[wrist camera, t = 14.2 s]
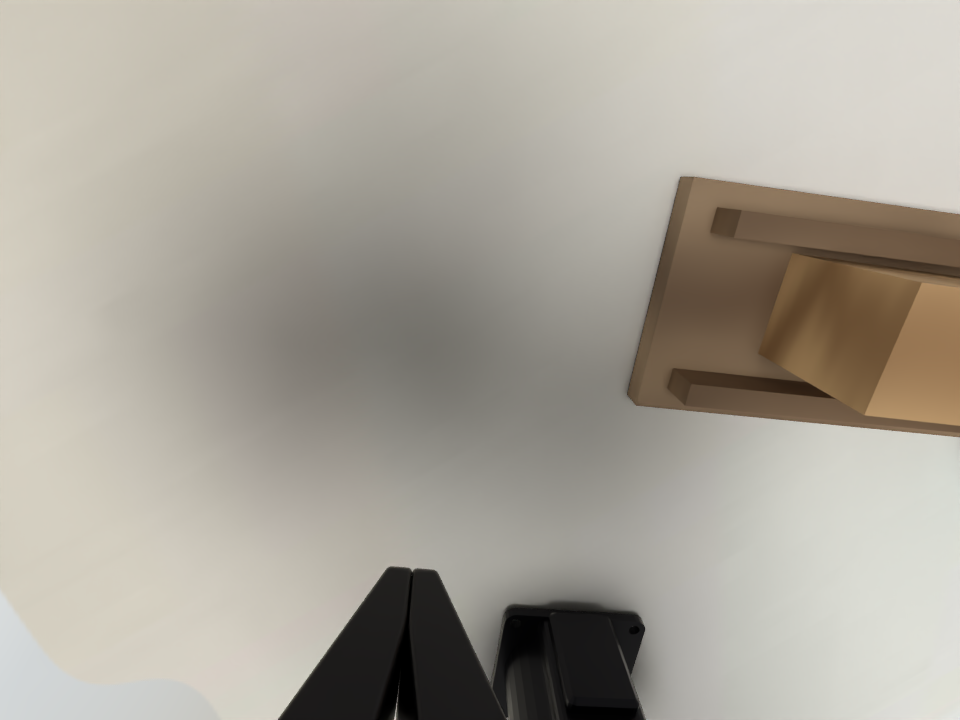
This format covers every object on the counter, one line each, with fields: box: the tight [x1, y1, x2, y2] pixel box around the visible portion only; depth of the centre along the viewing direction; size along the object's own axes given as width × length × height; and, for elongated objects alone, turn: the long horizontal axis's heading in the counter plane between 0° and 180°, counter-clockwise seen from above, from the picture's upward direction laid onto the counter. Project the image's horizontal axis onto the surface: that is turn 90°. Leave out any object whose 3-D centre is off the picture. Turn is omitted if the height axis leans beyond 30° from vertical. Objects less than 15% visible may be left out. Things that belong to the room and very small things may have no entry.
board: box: [627, 177, 960, 437], centre depth 18 cm, size 8×20×2 cm, turn 83°
